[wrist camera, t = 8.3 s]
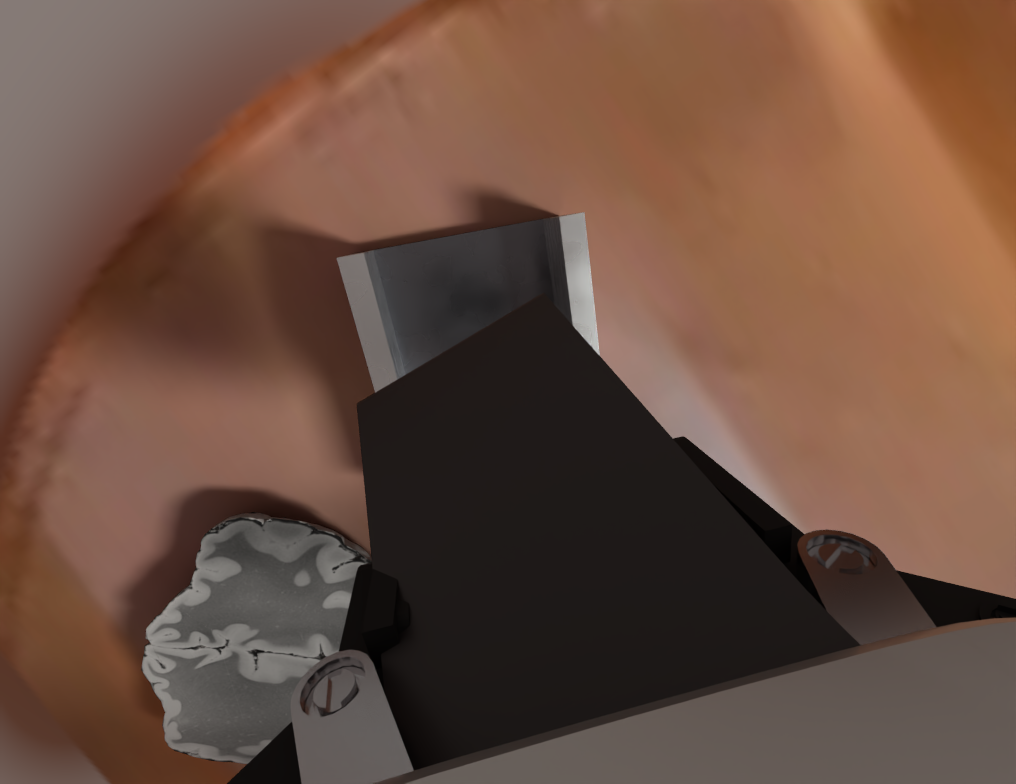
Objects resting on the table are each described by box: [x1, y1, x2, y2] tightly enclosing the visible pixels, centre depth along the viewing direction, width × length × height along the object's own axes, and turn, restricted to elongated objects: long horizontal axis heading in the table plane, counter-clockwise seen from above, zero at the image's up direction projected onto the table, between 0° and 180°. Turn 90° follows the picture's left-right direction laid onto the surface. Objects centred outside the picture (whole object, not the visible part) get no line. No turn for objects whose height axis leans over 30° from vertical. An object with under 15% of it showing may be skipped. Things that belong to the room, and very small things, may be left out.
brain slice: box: [141, 512, 372, 764], centre depth 31 cm, size 20×17×3 cm
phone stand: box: [357, 293, 860, 771], centre depth 9 cm, size 9×6×12 cm, turn 29°
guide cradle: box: [337, 212, 600, 392], centre depth 26 cm, size 11×14×4 cm
